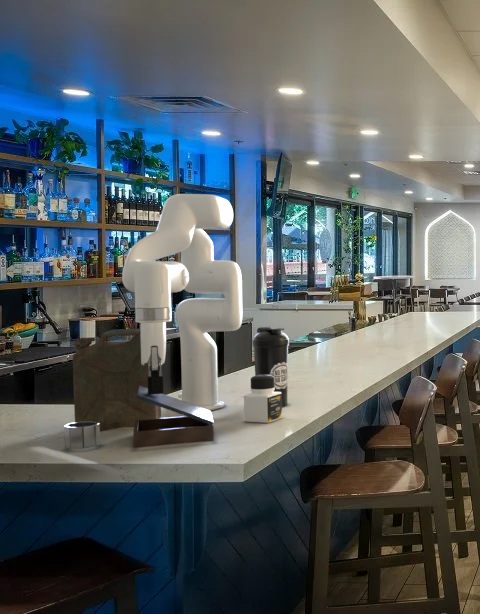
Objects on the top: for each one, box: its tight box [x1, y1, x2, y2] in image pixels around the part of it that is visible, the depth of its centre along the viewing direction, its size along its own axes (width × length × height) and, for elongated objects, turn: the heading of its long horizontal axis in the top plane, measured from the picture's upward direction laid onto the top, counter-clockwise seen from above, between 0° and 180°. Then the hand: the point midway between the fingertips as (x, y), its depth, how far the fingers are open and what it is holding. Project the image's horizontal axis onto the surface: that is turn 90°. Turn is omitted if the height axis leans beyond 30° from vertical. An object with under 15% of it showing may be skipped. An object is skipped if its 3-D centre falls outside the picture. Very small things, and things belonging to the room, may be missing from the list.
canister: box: [72, 328, 162, 432], centre depth 200 cm, size 19×8×25 cm, turn 106°
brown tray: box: [132, 415, 214, 449], centre depth 187 cm, size 17×15×4 cm
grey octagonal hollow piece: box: [63, 421, 101, 449], centre depth 179 cm, size 7×7×6 cm
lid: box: [136, 385, 215, 426], centre depth 187 cm, size 17×15×1 cm
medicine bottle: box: [243, 375, 283, 424], centre depth 211 cm, size 7×7×12 cm
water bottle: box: [251, 326, 290, 408], centre depth 230 cm, size 10×10×23 cm
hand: (155, 393), depth 185 cm, fingers closed
